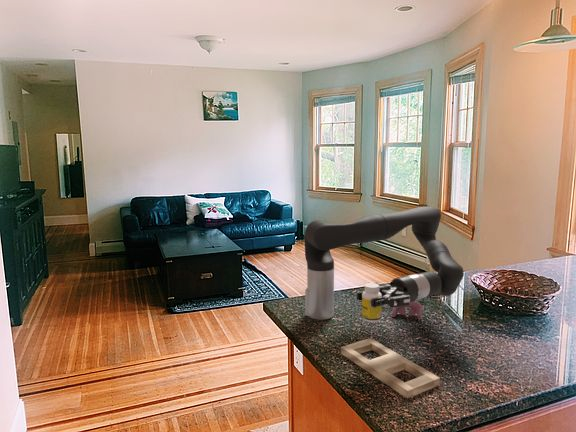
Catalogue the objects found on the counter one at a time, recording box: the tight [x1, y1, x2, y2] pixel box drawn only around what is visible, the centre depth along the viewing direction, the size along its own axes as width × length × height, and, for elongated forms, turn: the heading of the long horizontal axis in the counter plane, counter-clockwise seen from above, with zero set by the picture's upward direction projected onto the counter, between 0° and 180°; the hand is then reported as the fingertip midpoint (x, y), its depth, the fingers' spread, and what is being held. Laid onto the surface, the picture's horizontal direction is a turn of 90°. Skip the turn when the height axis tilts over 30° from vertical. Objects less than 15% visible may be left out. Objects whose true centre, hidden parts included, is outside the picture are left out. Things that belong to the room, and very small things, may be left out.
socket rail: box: [340, 337, 441, 399], centre depth 117 cm, size 26×11×2 cm, turn 30°
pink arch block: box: [391, 300, 423, 321], centre depth 152 cm, size 10×5×7 cm, turn 72°
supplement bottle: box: [361, 282, 383, 323], centre depth 120 cm, size 5×5×10 cm
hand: (364, 299), depth 119 cm, fingers closed on supplement bottle, 5 cm apart
